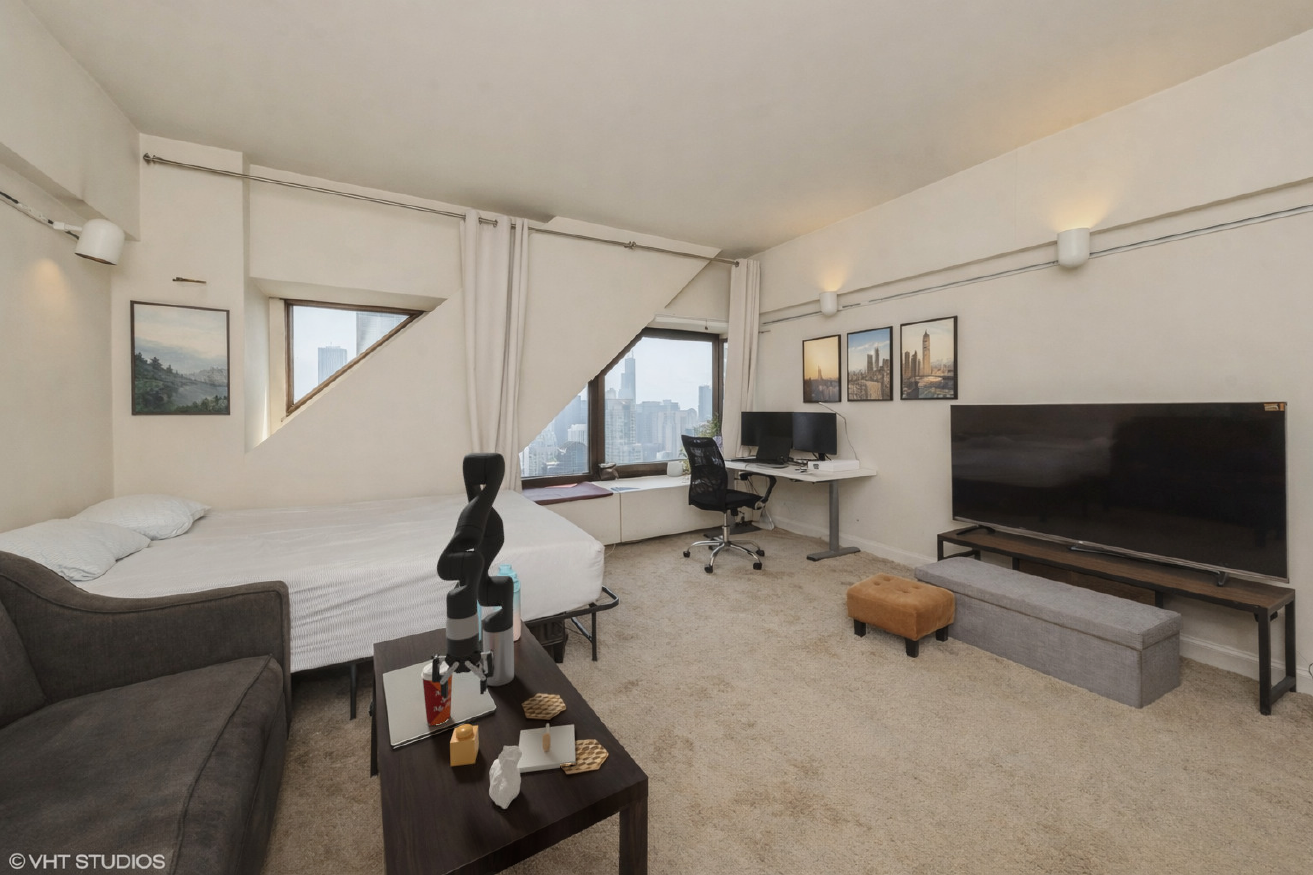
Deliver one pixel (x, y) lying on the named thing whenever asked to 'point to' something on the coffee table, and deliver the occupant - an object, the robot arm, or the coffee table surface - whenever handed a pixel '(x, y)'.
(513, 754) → the bust
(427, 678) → the coffee cup
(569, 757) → the plate
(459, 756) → the domed orange cube
